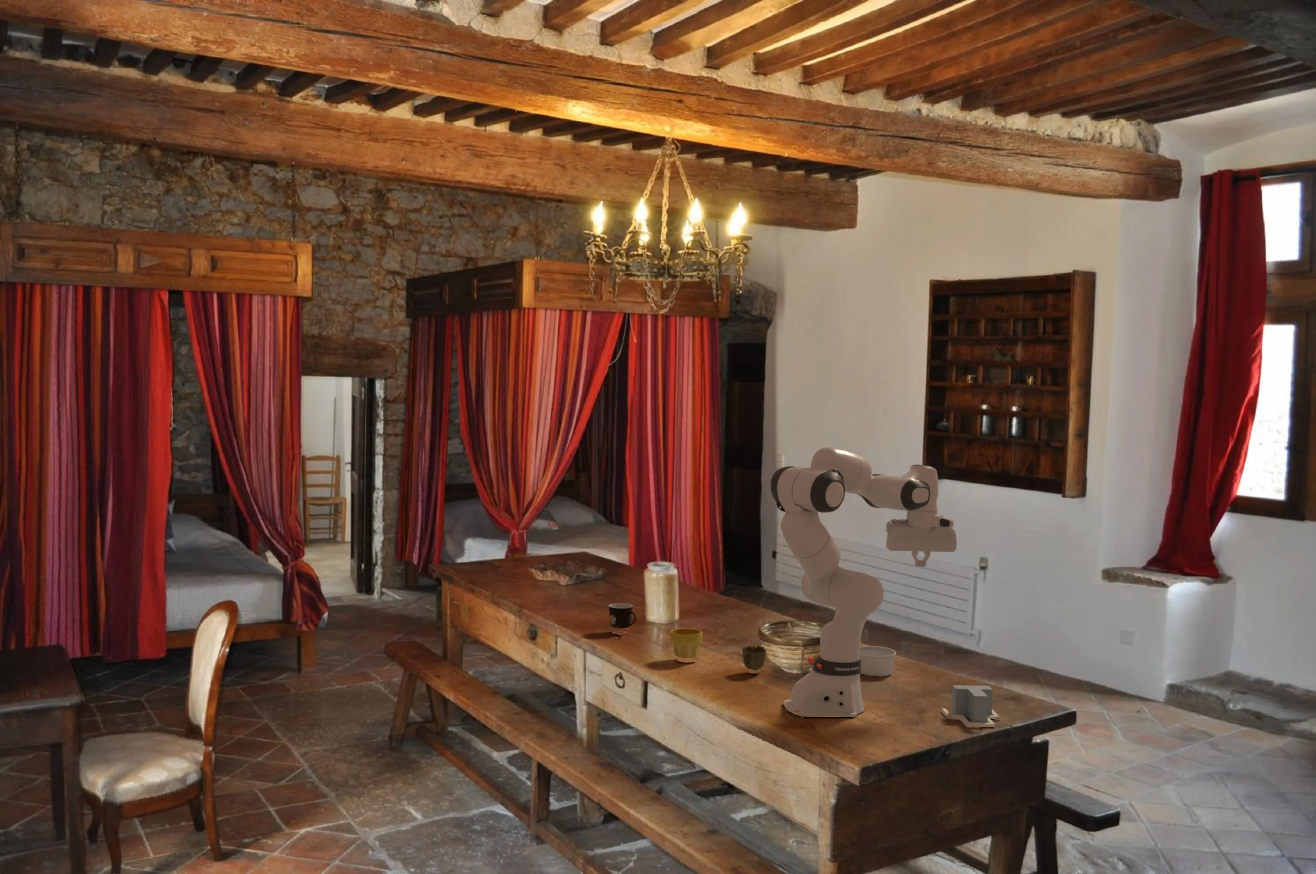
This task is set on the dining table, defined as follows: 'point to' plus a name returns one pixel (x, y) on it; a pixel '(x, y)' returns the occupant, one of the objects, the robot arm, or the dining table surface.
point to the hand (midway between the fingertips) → (920, 566)
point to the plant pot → (686, 642)
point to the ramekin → (877, 660)
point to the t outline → (972, 724)
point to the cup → (754, 657)
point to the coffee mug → (621, 615)
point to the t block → (972, 702)
